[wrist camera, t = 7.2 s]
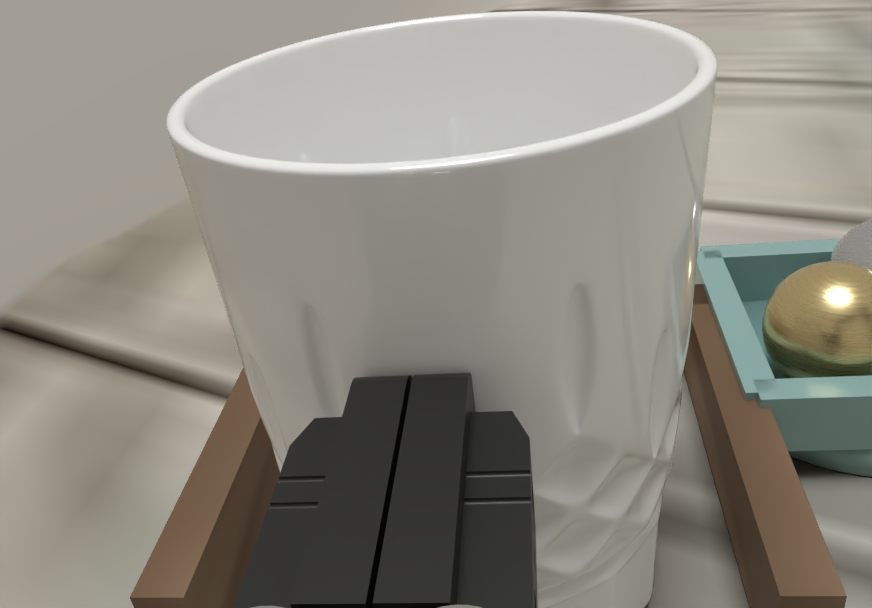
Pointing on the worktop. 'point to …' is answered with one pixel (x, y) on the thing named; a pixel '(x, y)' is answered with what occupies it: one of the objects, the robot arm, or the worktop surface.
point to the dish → (757, 374)
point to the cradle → (723, 438)
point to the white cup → (474, 245)
